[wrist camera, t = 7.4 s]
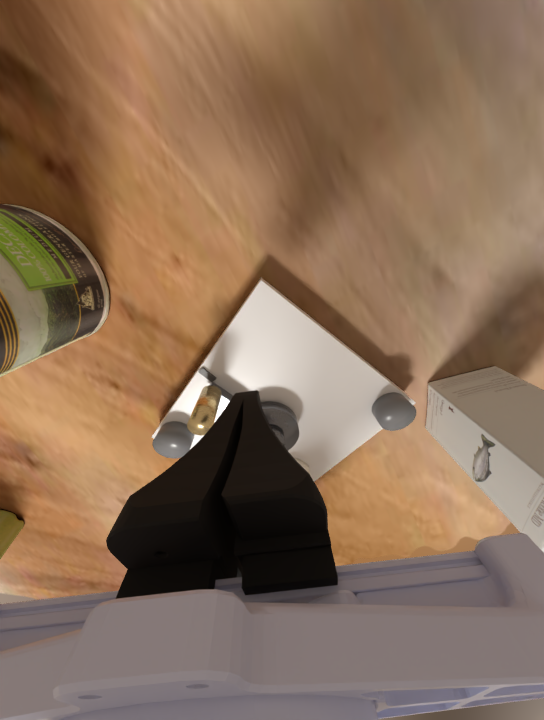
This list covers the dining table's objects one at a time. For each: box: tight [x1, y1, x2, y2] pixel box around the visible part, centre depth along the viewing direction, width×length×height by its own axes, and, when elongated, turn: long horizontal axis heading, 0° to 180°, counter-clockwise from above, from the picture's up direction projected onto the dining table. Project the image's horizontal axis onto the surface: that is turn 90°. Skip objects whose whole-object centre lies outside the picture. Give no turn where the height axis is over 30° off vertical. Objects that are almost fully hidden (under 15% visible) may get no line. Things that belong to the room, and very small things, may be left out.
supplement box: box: [425, 366, 544, 552], centre depth 19 cm, size 7×7×13 cm
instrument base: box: [152, 277, 416, 481], centre depth 22 cm, size 20×20×4 cm
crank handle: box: [187, 382, 299, 450], centre depth 19 cm, size 11×6×5 cm, turn 47°
